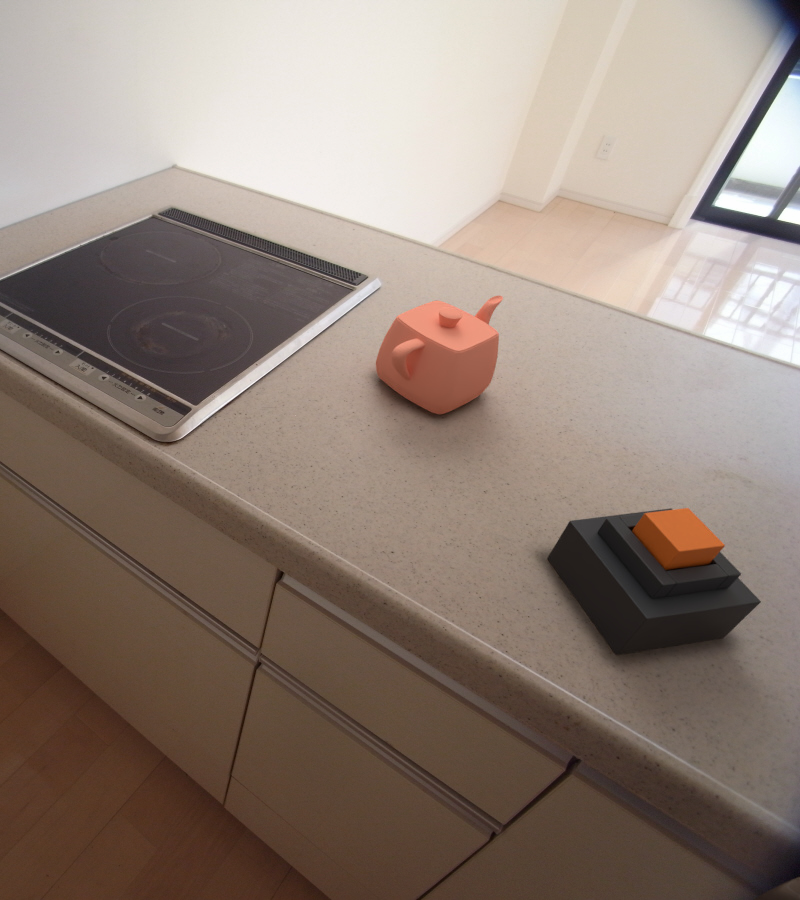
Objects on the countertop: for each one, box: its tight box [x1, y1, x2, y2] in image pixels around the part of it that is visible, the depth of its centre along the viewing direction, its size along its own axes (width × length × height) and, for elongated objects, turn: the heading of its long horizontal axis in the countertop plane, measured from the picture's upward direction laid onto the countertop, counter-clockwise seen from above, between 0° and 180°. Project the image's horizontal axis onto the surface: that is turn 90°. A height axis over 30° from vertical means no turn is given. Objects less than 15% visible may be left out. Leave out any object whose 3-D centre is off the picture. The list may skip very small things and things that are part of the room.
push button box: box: [547, 507, 762, 656], centre depth 54 cm, size 10×10×7 cm
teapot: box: [375, 295, 504, 415], centre depth 76 cm, size 12×18×10 cm, turn 125°
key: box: [632, 507, 726, 570], centre depth 51 cm, size 4×4×2 cm
